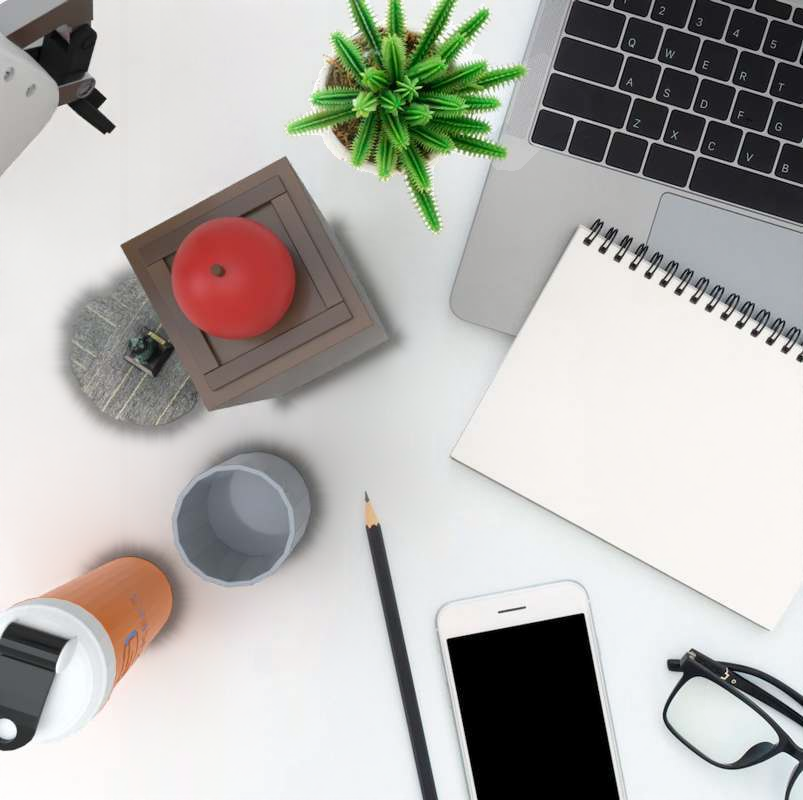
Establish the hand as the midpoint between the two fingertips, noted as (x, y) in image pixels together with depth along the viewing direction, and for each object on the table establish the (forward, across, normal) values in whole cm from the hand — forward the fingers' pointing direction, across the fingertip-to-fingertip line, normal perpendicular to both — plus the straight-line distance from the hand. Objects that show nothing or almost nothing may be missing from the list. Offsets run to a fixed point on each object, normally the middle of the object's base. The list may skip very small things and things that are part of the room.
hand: (25, 181), depth 42 cm
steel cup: (+26, +10, +19) cm, 34 cm away
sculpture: (+27, +7, +4) cm, 28 cm away
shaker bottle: (+27, +23, +17) cm, 39 cm away
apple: (+2, -4, +11) cm, 12 cm away
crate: (+26, -4, +12) cm, 29 cm away
